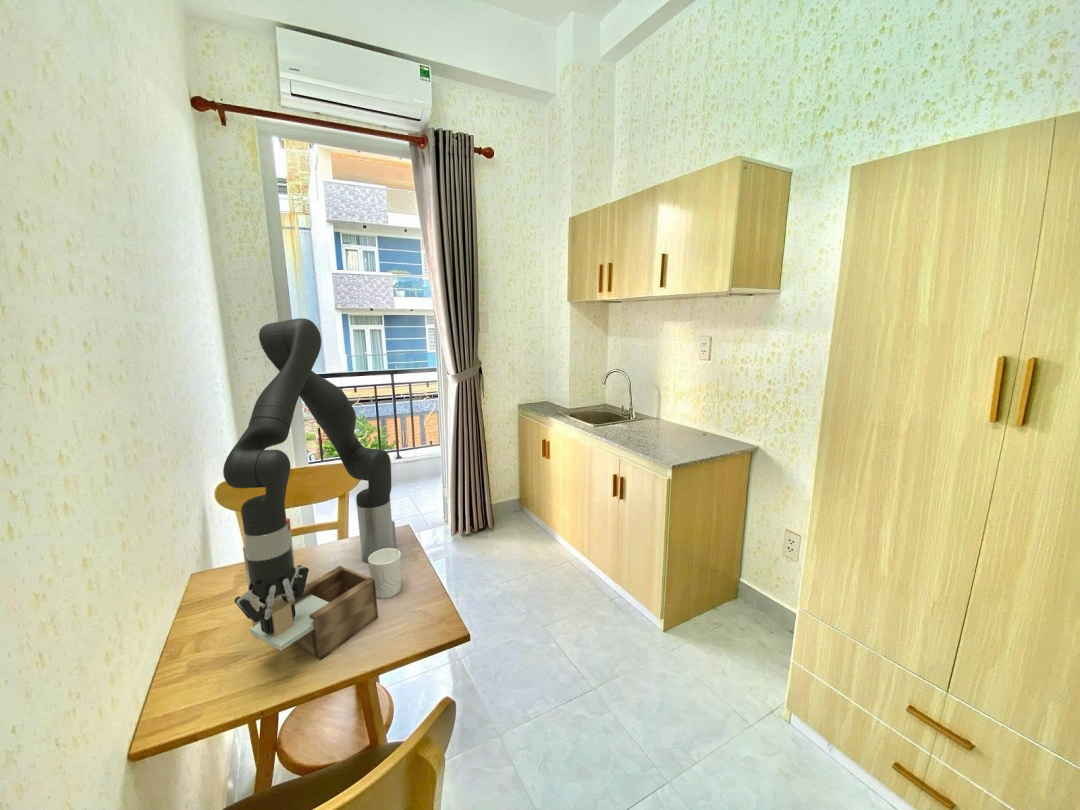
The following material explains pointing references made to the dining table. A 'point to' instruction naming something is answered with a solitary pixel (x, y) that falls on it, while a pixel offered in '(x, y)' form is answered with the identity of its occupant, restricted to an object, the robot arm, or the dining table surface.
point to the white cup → (386, 571)
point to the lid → (290, 621)
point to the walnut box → (338, 610)
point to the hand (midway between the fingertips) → (279, 626)
